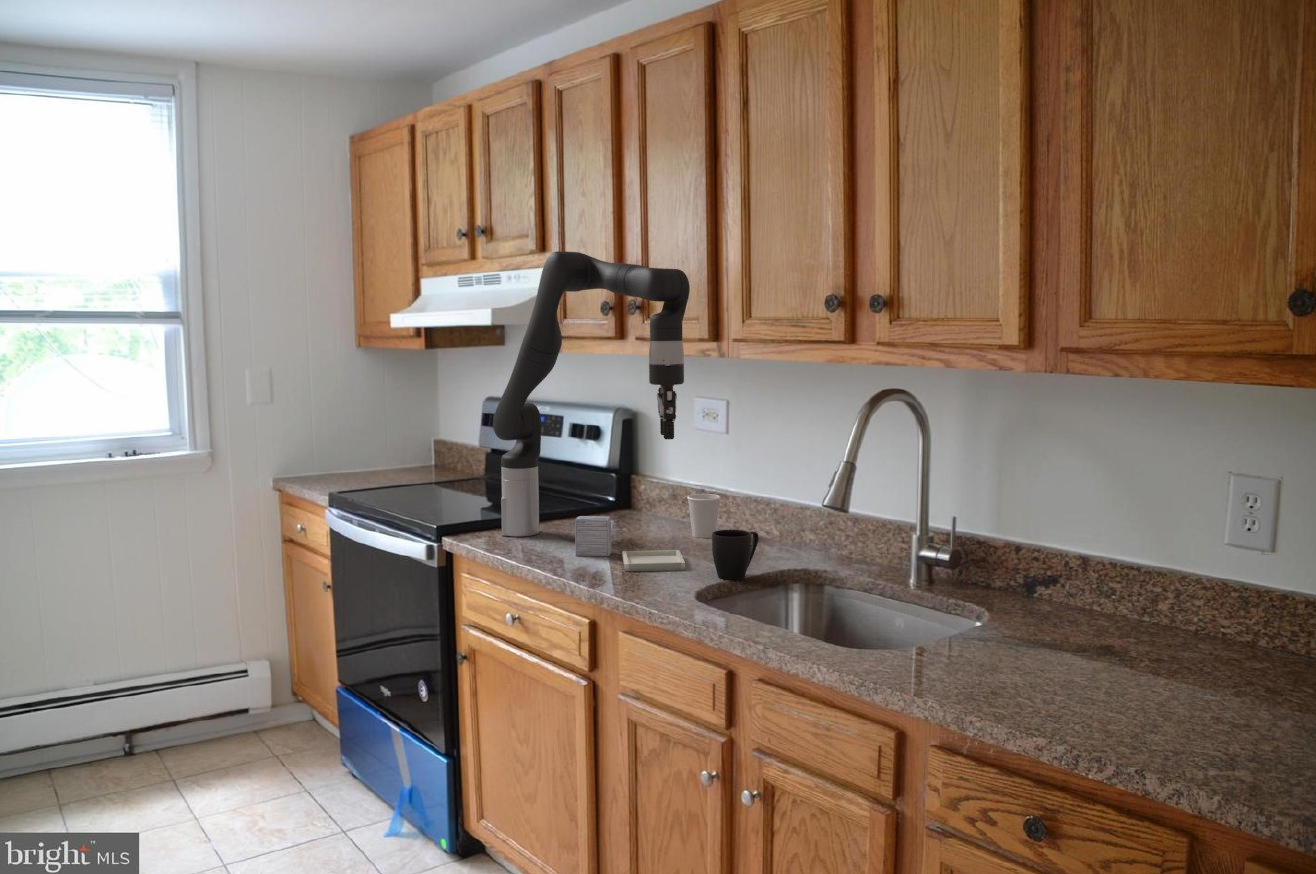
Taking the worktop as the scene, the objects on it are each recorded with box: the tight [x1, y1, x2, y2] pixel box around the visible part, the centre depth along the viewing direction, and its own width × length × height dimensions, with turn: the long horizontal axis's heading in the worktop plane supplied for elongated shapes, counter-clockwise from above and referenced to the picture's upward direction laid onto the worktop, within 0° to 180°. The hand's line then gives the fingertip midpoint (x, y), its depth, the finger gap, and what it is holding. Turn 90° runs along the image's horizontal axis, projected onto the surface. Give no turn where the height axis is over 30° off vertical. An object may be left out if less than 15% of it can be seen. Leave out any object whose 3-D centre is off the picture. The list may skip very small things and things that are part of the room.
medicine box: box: [574, 515, 612, 557], centre depth 245 cm, size 8×4×9 cm, turn 84°
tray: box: [621, 549, 686, 572], centre depth 236 cm, size 13×13×2 cm
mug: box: [711, 529, 759, 582], centre depth 224 cm, size 8×12×10 cm
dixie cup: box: [687, 493, 722, 539], centre depth 266 cm, size 8×8×10 cm
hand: (667, 437), depth 230 cm, fingers open, 8 cm apart
